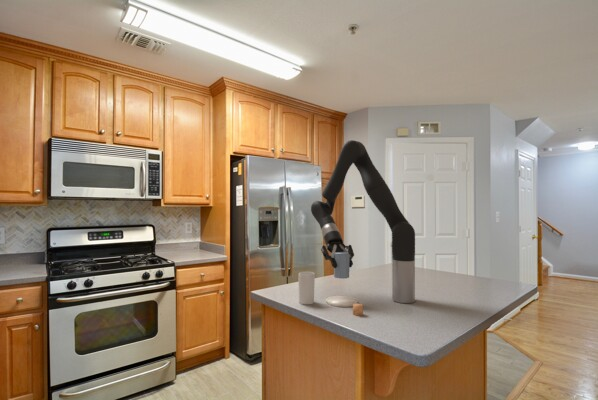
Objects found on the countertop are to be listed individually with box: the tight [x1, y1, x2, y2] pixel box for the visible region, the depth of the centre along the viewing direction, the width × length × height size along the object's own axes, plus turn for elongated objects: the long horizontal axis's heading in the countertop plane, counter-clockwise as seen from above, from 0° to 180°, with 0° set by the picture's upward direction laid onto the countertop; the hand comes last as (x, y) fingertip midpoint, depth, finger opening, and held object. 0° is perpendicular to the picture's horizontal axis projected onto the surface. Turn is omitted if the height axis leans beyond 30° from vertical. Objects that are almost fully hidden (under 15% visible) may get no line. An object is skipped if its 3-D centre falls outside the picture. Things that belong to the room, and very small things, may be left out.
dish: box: [325, 295, 359, 308], centre depth 135 cm, size 13×13×1 cm
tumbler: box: [333, 252, 350, 280], centre depth 135 cm, size 6×6×10 cm
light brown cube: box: [352, 303, 364, 317], centre depth 120 cm, size 4×4×4 cm
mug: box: [297, 271, 316, 306], centre depth 136 cm, size 10×7×12 cm, turn 10°
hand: (343, 266), depth 134 cm, fingers closed on tumbler, 6 cm apart
